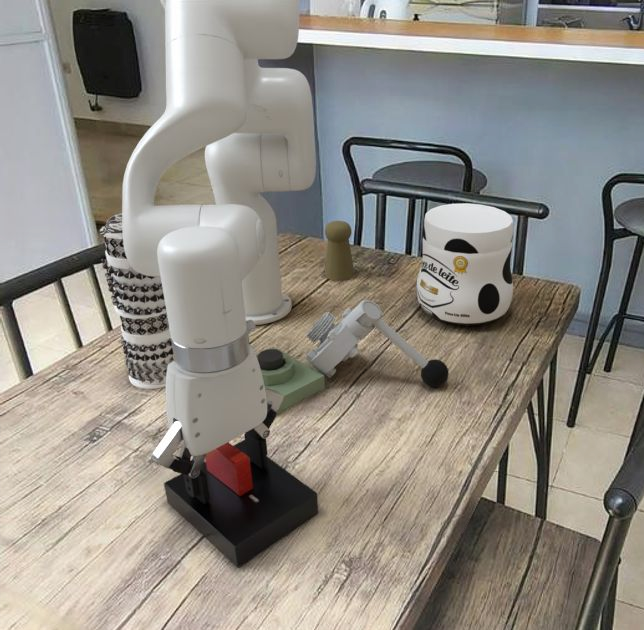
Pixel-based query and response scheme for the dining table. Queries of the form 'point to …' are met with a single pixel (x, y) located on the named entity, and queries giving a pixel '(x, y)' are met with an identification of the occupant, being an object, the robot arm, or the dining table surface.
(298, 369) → the button housing
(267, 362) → the stop button
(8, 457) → the dining table surface
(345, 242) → the olive brown pawn
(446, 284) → the milk container
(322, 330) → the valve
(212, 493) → the base
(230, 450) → the tap handle
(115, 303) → the decorative candle
